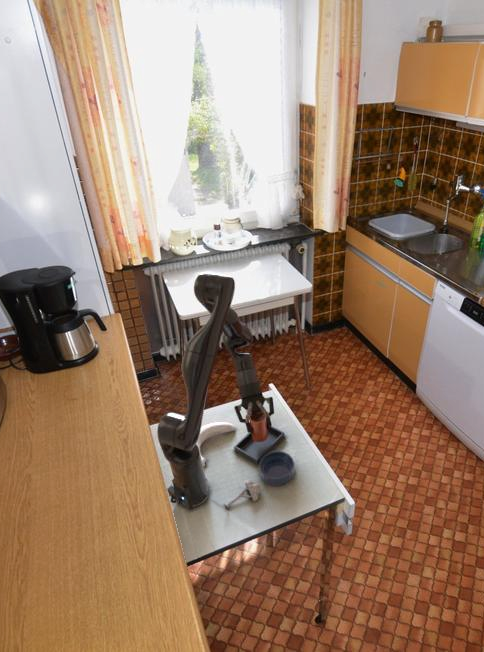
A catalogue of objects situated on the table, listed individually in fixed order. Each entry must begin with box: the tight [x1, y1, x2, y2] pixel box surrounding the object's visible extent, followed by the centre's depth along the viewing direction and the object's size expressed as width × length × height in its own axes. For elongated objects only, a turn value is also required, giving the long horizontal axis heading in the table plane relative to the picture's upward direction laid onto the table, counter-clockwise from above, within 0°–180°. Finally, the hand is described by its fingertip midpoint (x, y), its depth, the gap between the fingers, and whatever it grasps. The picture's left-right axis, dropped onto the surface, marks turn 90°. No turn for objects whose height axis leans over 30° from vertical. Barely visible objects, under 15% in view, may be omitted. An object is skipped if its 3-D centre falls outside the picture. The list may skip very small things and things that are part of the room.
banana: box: [196, 421, 236, 467], centre depth 156 cm, size 5×19×15 cm
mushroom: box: [224, 479, 261, 509], centre depth 136 cm, size 7×5×12 cm
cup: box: [249, 411, 268, 442], centre depth 151 cm, size 6×6×10 cm
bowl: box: [258, 450, 295, 487], centre depth 144 cm, size 11×11×4 cm
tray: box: [233, 425, 286, 466], centre depth 155 cm, size 15×11×2 cm
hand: (260, 430), depth 150 cm, fingers closed on cup, 6 cm apart
